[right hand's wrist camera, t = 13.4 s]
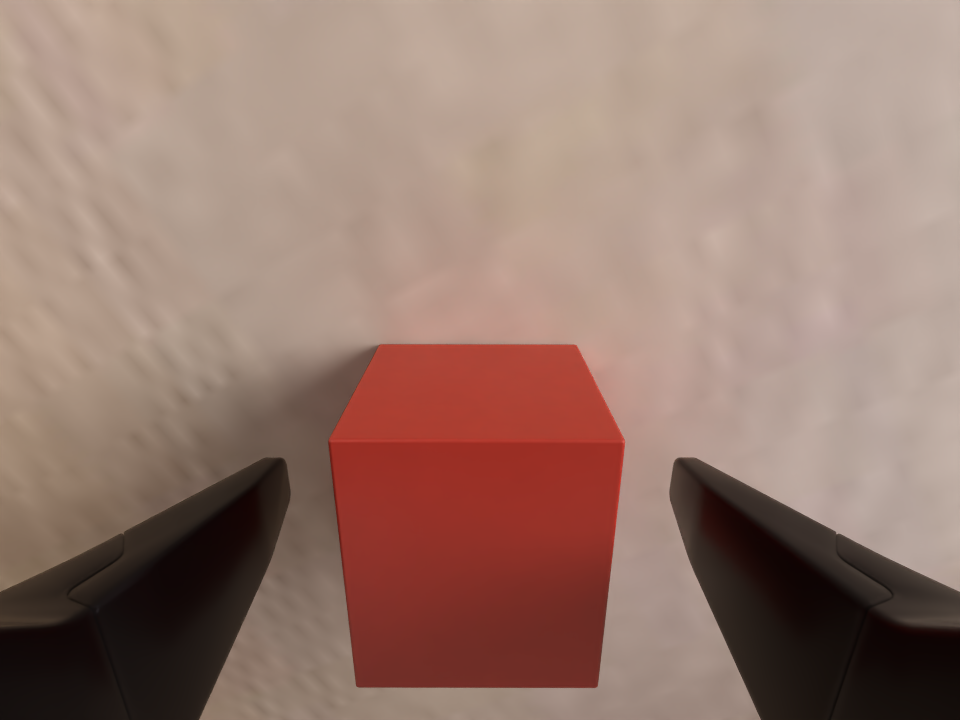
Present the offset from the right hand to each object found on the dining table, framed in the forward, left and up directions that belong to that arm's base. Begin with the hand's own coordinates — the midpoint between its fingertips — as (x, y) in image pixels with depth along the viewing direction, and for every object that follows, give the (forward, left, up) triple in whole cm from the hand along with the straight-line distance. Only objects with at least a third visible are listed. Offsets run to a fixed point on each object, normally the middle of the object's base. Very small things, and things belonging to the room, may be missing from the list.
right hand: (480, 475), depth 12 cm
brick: (0, 0, -1) cm, 1 cm away
